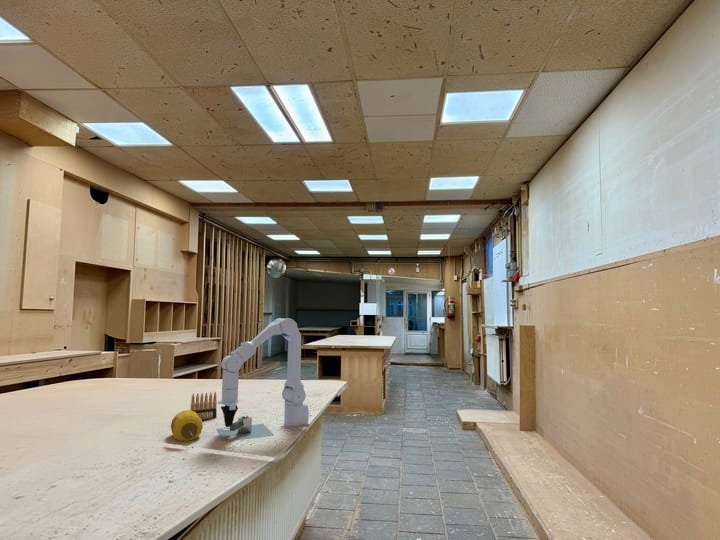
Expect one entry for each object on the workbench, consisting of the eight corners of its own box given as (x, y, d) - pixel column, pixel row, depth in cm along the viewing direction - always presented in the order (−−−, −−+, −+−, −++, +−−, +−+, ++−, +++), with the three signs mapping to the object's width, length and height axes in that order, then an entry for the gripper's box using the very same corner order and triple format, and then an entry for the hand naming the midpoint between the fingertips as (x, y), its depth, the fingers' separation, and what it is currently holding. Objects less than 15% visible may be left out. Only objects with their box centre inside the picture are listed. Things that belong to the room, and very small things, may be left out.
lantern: (172, 402, 157) (182, 419, 132) (198, 405, 162) (212, 422, 136) (164, 429, 155) (172, 451, 129) (190, 431, 160) (203, 453, 134)
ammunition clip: (189, 423, 168) (191, 393, 169) (189, 422, 169) (190, 393, 171) (216, 420, 173) (217, 391, 174) (215, 419, 174) (217, 391, 176)
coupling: (241, 429, 154) (242, 414, 155) (253, 429, 153) (254, 415, 154) (224, 438, 142) (225, 422, 143) (237, 439, 141) (238, 423, 142)
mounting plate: (263, 426, 163) (263, 423, 163) (274, 438, 147) (274, 434, 147) (216, 432, 155) (216, 428, 156) (222, 445, 139) (222, 441, 139)
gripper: (216, 386, 155) (214, 423, 153) (221, 392, 142) (220, 432, 140) (235, 384, 158) (233, 420, 157) (242, 391, 145) (240, 430, 144)
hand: (228, 426), depth 149 cm, fingers closed
